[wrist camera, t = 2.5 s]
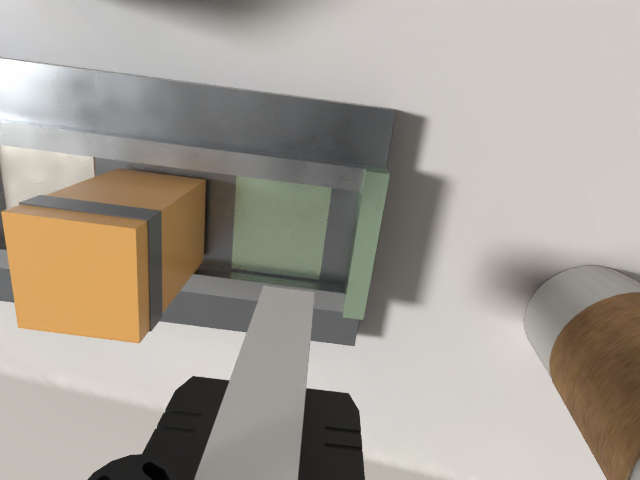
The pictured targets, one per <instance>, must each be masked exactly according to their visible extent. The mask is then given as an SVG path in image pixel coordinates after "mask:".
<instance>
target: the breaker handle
mask: <svg viewBox="0 0 640 480" xmlns="http://www.w3.org/2000/svg"><path fill="white" fill-rule="evenodd" d="M205 193H206V180H205V179H197V178H190V177H182V176H174V175H167V174H159V173H151V172H143V171H136V170H128V169H120V168H117V169H114V170H112V171H109V172H106V173H104V174H101V175H98V176H96V177H93V178H90V179H87V180H85V181H82V182H79V183H77V184H74V185H71V186H69V187H66V188H63V189H60V190H58V191H55V192H52V193H50V194H47V195H38V196H35V197H33V198H30V199H27V200H24V201H22V202H19V205H17V206H15V207H12V208H9V209H7V210H4V211H1V214H2V221H3V228H4V235H5V241H6V248H7V255H8V261H9V268H10V275H11V282H12V288H13V295H14V302H15V309H16V315H17V322H18V328H24V329H31V330H39V331H47V332H55V333H63V334H71V335H78V336H86V337H94V338H102V339H110V340H117V341H125V342H133V343H140V342H141V341H142V339H143V338H144V337H145V335H146V334H147V333H148V332H149V331H152V330H153V328H154V327H155V326H156V324H157V323H158V322H159V321H160V319H161V318H162V317H163V316H162V314H163V312H164V311H165V310H166V308H167V307H168V306H169V304H170V303H171V302H172V301H173V299H174V298H175V297H176V295H177V294H178V293H179V292H180V290H181V289H182V288H183V286H184V285H185V284H186V283H187V281H188V280H189V279H190V277H191V276H192V275H193V273H194V272H195V271H196V270H197V268H198V267H199V266H200V264H201V263H202V262H203V261H204V229H205Z"/></svg>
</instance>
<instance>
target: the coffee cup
mask: <svg viewBox="0 0 640 480" xmlns="http://www.w3.org/2000/svg"><path fill="white" fill-rule="evenodd" d="M524 328H525V332H526V335H527V338H528V340H529V342H530V343H531V345H532V347H533V348H534V350H535V352H536V353H537V355H538V357H539V358H540V360H541V362H542V363H543V365H544V367H545V368H546V370H547V372H548V373H549V375H550V377H551V378H552V381H553V384H554V385H555V387H556V389H557V391H558V393H559V394H560V396H561V398H562V400H563V401H564V403H565V405H566V407H567V409H568V410H569V412H570V414H571V416H572V418H573V419H574V421H575V423H576V425H577V427H578V428H579V430H580V432H581V434H582V436H583V437H584V439H585V441H586V443H587V444H588V446H589V448H590V450H591V452H592V453H593V455H594V457H595V459H596V461H597V462H598V464H599V466H600V468H601V470H602V471H603V473H604V475H605V477H606V479H607V480H640V283H639V282H637V281H635V280H634V279H632V278H630V277H628V276H626V275H624V274H622V273H620V272H618V271H615V270H613V269H610V268H607V267H601V266H581V267H575V268H571V269H568V270H565V271H562V272H561V273H559V274H557V275H555V276H553V277H551V278H550V279H549V280H547V281H546V282H545V283H543V284H542V285H541V286H540V287H539V289H538V290H537V291H536V292H535V293H534V295H533V296H532V298H531V299H530V301H529V303H528V306H527V308H526V312H525V317H524Z"/></svg>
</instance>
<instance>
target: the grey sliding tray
mask: <svg viewBox="0 0 640 480" xmlns="http://www.w3.org/2000/svg"><path fill="white" fill-rule="evenodd" d="M395 115H396V110H395V109H392V108H385V107H377V106H369V105H362V104H354V103H346V102H339V101H331V100H323V99H316V98H308V97H300V96H293V95H285V94H277V93H270V92H262V91H254V90H247V89H239V88H231V87H224V86H216V85H208V84H201V83H193V82H185V81H178V80H170V79H162V78H155V77H147V76H139V75H132V74H124V73H116V72H109V71H101V70H93V69H86V68H78V67H70V66H63V65H55V64H47V63H40V62H32V61H24V60H17V59H9V58H1V57H0V301H6V302H14V295H13V288H12V282H11V275H10V268H9V261H8V255H7V248H6V241H5V235H4V228H3V221H2V214H1V211H4V210H7V209H9V208H12V207H15V206H17V205H19V202H22V201H24V200H27V199H30V198H33V197H35V196H38V195H47V194H50V193H52V192H55V191H58V190H60V189H63V188H66V187H69V186H71V185H74V184H77V183H79V182H82V181H85V180H87V179H90V178H93V177H96V176H98V175H101V174H104V173H106V172H109V171H112V170H114V169H117V168H120V169H128V170H136V171H143V172H151V173H159V174H167V175H174V176H182V177H190V178H197V179H205V180H206V193H205V229H204V261H203V262H202V263H201V264H200V266H199V267H198V268H197V270H196V271H195V272H194V273H193V275H192V276H191V277H190V279H189V280H188V281H187V283H186V284H185V285H184V286H183V288H182V289H181V290H180V292H179V293H178V294H177V295H176V297H175V298H174V299H173V301H172V302H171V303H170V304H169V306H168V307H167V308H166V310H165V311H164V312H163V314H162V316H163V317H162V318H161V319H160V321H162V322H170V323H178V324H186V325H194V326H201V327H209V328H217V329H225V330H233V331H241V332H247V331H248V328H249V325H250V322H251V319H252V317H253V314H254V311H255V308H256V305H257V303H258V300H259V297H260V294H261V291H262V289H263V286H269V287H277V288H285V289H293V290H301V291H309V292H315V294H314V305H313V316H312V328H311V339H310V340H311V341H319V342H326V343H334V344H342V345H350V346H355V340H356V335H357V329H358V323H359V319H360V320H364V315H365V309H366V304H367V298H368V293H369V287H370V282H371V276H372V271H373V265H374V260H375V254H376V249H377V243H378V238H379V232H380V227H381V221H382V216H383V210H384V205H385V199H386V194H387V188H388V183H389V177H390V174H389V172H388V170H387V169H386V166H387V160H388V155H389V149H390V143H391V138H392V132H393V127H394V121H395ZM14 303H15V302H14Z"/></svg>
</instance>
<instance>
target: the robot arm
mask: <svg viewBox="0 0 640 480" xmlns="http://www.w3.org/2000/svg"><path fill="white" fill-rule="evenodd" d="M314 294H315V292H309V291H301V290H293V289H285V288H277V287H269V286H263V289H262V291H261V294H260V297H259V300H258V303H257V305H256V308H255V311H254V314H253V317H252V319H251V322H250V325H249V328H248V331H247V333H246V336H245V339H244V342H243V345H242V347H241V350H240V353H239V356H238V359H237V361H236V364H235V367H234V370H233V373H232V375H231V378H230V381H229V380H220V379H212V378H204V377H195V376H192V377H191V378H190V379H189V380H188V381H186V382H185V383H184V384H183V385H182V386H180V387H179V388H178V389H177V390H176V391H175V392H174V394H173V396H172V398H171V400H170V402H169V404H168V406H167V408H166V411H165V413H163V415H162V417H161V419H160V421H159V423H158V425H157V429H155V431H154V432H153V434H152V436H151V438H150V440H149V442H148V444H147V446H146V448H145V449H144V451H143V453H142V454H140V455H129V456H126V457H123V458H120V459H117V460H114V461H111V462H110V463H108V464H107V465H105V466H103V467H102V468H100V469H99V470H97V471H96V472H94V473H93V474H92V475H91V477H90V478H89V479H88V480H365V476H364V463H363V452H362V439H361V427H360V415H359V410H358V408H357V407H356V405H355V403H354V402H353V400H352V398H351V396H350V395H349V393H341V392H333V391H324V390H316V389H308V388H306V383H307V372H308V361H309V350H310V339H311V328H312V316H313V305H314Z"/></svg>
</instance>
